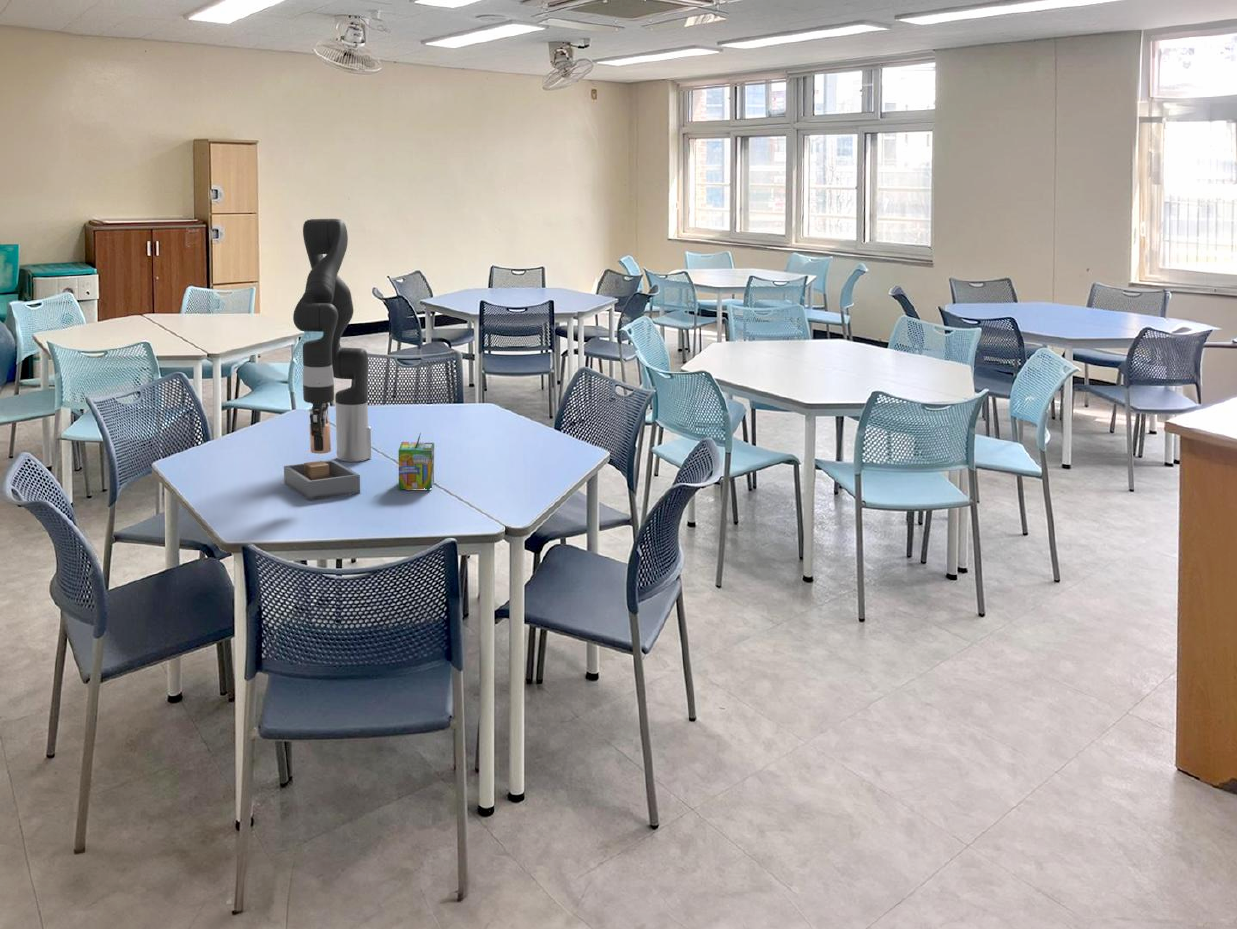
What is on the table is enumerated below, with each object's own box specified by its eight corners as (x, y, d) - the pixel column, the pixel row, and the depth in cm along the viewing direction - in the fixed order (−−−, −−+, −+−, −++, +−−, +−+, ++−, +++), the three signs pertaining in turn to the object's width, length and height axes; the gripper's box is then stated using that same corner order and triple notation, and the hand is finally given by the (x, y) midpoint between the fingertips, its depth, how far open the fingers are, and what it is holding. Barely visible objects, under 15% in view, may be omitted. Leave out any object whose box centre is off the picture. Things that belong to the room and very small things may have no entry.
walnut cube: (329, 482, 289) (328, 464, 288) (311, 485, 286) (310, 467, 285) (322, 478, 293) (321, 460, 292) (304, 480, 290) (303, 463, 289)
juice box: (401, 481, 297) (400, 429, 293) (434, 482, 298) (434, 430, 294) (397, 490, 288) (396, 437, 284) (431, 491, 289) (431, 438, 285)
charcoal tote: (333, 477, 298) (333, 460, 297) (360, 493, 284) (359, 475, 283) (284, 483, 290) (283, 466, 288) (309, 500, 276) (308, 481, 275)
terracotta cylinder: (332, 448, 275) (331, 422, 274) (329, 453, 271) (328, 427, 269) (312, 448, 275) (311, 421, 273) (309, 453, 270) (308, 426, 268)
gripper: (329, 388, 261) (331, 455, 266) (337, 377, 275) (339, 440, 280) (297, 388, 261) (300, 455, 265) (307, 376, 274) (310, 440, 279)
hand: (320, 447), depth 273 cm, fingers closed on terracotta cylinder, 5 cm apart
